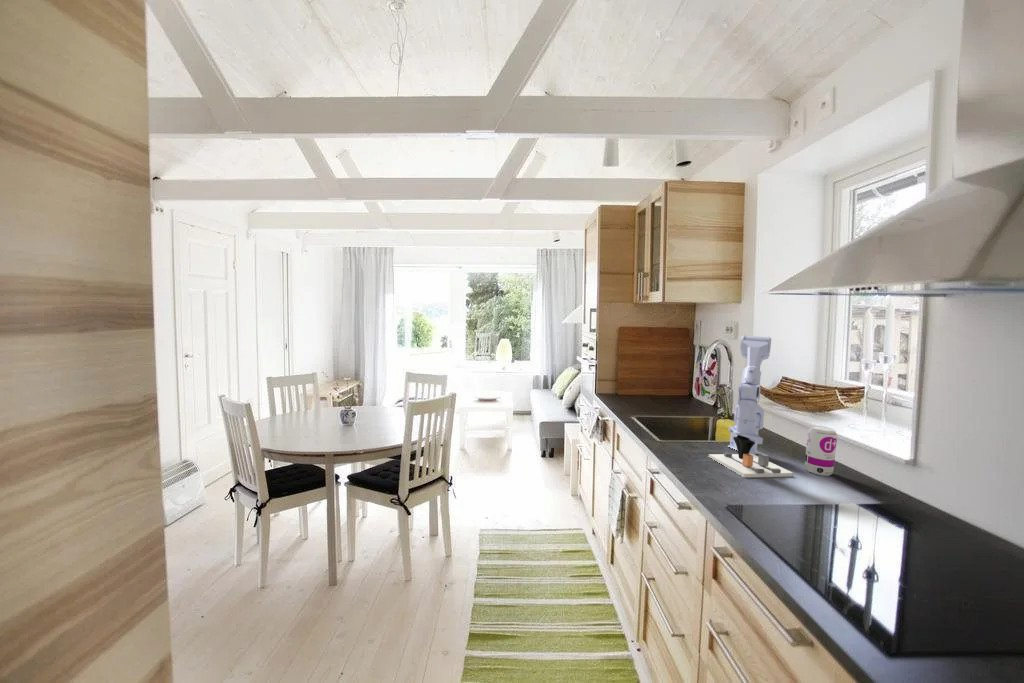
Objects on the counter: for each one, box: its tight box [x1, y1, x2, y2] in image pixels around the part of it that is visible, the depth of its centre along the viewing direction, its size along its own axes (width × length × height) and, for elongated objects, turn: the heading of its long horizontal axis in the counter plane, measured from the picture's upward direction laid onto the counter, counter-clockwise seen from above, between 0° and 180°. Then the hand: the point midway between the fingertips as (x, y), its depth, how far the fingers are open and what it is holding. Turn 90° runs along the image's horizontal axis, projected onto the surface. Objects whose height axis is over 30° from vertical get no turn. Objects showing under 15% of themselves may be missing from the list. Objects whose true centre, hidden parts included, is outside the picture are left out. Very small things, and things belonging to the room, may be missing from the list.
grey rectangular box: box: [758, 452, 770, 466], centre depth 157 cm, size 2×2×4 cm
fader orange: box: [742, 454, 753, 467], centre depth 156 cm, size 2×2×4 cm
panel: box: [708, 452, 794, 478], centre depth 160 cm, size 19×18×2 cm
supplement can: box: [804, 425, 838, 477], centre depth 158 cm, size 8×8×15 cm
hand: (742, 458), depth 159 cm, fingers closed
